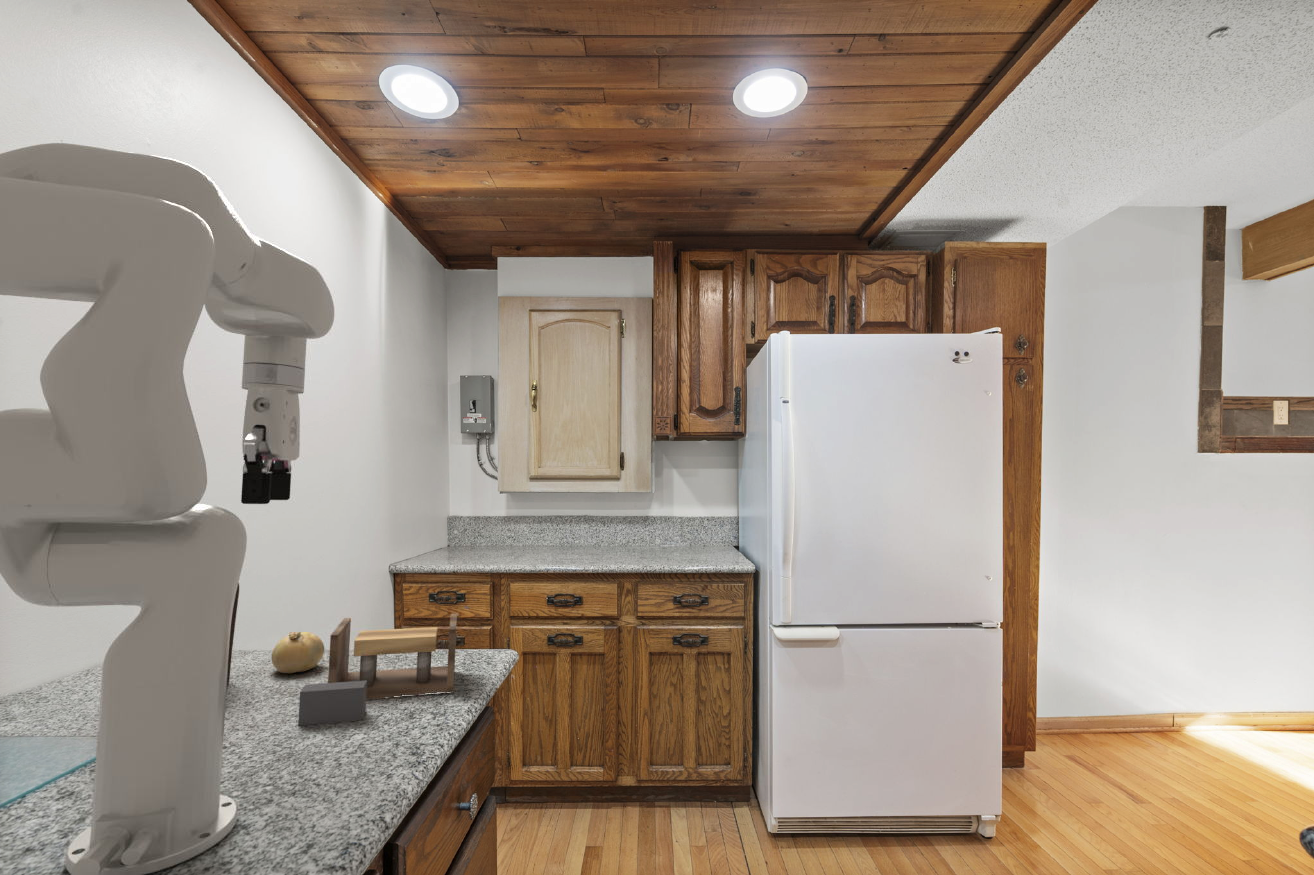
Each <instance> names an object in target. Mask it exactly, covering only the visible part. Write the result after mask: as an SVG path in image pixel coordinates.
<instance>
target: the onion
mask: <svg viewBox="0 0 1314 875" xmlns="http://www.w3.org/2000/svg"><path fill="white" fill-rule="evenodd" d="M325 649H326V648H325V645H324V642H323V641H322V639H321V638H320V637H319V635H316V634H314V633H312V632H310V631H302V632H301V631H300V632H299V631H289V634H288V635H286V636H284V637H283V638H281V639H280V640H279V641H278V642H277V643H276V645H275V646H274V648H273V650H272V651H271V652H272V653H271V663H272V665H273V667H274V668H275V669H276V671H277V672H279V673H281V674H294V673H301V672H306V671H309V670H312V669H314V668H316V667H318V663H319V662H320V661H321V660H322V658H324V657H323V656H324V654H325Z"/></svg>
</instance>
